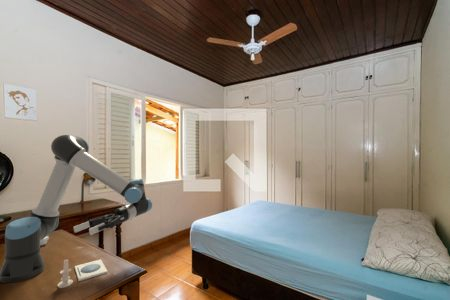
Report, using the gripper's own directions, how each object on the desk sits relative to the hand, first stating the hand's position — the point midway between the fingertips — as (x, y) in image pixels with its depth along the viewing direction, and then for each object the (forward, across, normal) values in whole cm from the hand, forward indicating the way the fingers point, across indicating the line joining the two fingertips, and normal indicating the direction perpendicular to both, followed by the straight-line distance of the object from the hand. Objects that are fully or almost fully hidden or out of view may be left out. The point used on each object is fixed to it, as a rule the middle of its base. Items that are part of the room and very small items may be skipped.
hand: (81, 230), depth 99 cm
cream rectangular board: (-2, +4, -20) cm, 20 cm away
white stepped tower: (+9, +1, -19) cm, 21 cm away
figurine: (-2, +56, -13) cm, 58 cm away
